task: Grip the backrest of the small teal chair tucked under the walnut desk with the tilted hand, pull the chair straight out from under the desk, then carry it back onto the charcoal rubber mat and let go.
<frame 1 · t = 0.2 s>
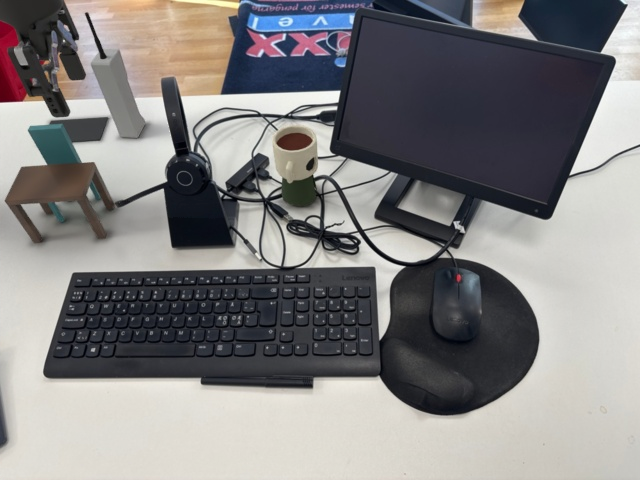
hand: (70, 96, 69), 26 cm above the table, tool pointing down, fingers open, 8 cm apart
desk: (75, 223, 90), on the table
chair: (80, 209, 92), on the table
character mug: (299, 197, 92), on the table
vintage mobile phone: (133, 131, 107), on the table
mat: (75, 130, 107), on the table
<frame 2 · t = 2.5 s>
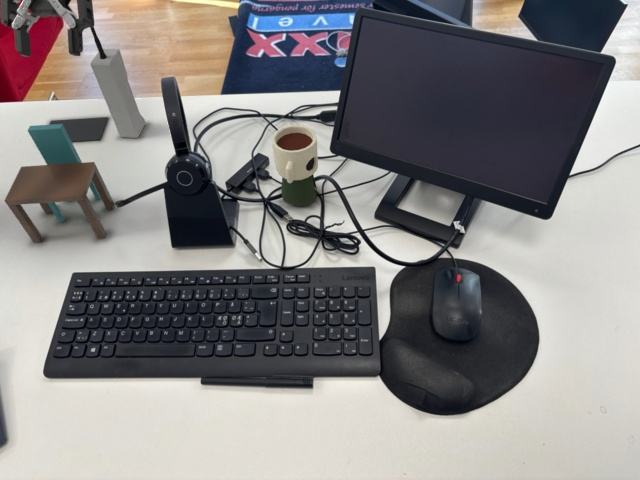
hand: (49, 55, 83), 23 cm above the table, tool tilted 40°, fingers open, 8 cm apart
nothing on the table moved.
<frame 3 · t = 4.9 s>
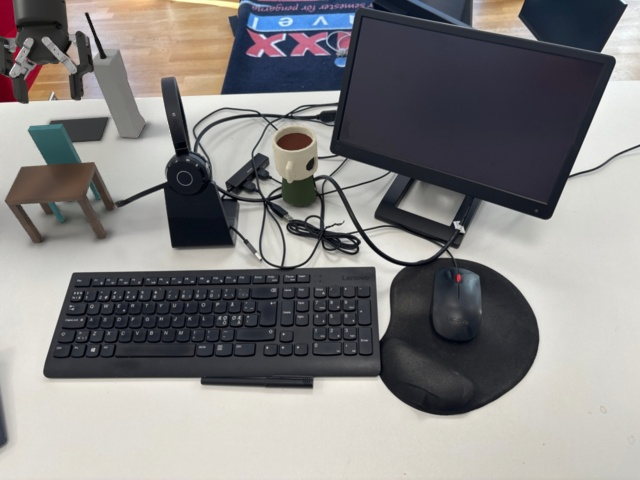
hand: (49, 101, 84), 17 cm above the table, tool tilted 45°, fingers open, 8 cm apart
nothing on the table moved.
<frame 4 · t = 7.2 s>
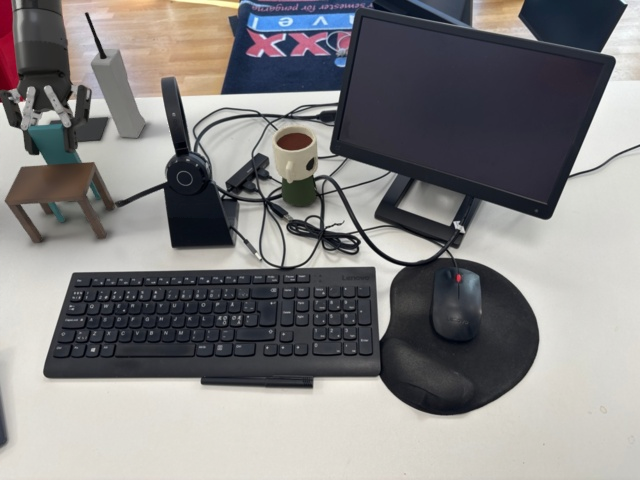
hand: (52, 153, 83), 12 cm above the table, tool tilted 45°, fingers closed on chair, 5 cm apart
chair: (80, 208, 92), on the table, touching gripper
everything else where it was.
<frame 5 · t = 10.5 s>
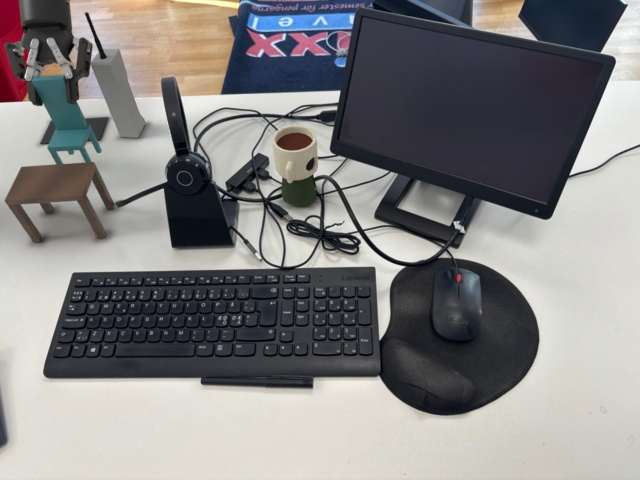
hand: (54, 103, 87), 15 cm above the table, tool tilted 45°, fingers closed on chair, 5 cm apart
chair: (82, 161, 96), point 3 cm above the table, touching gripper
everything else where it was.
when the fingers open (12 cm above the table, at t = 14.2 s): chair stays where it is, resting on mat.
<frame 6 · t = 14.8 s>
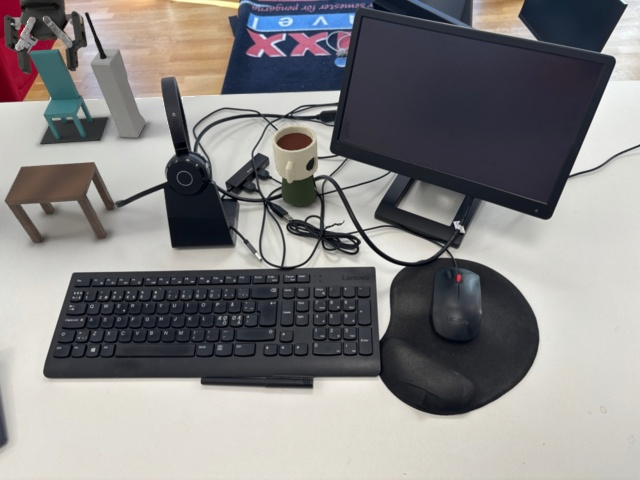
hand: (49, 71, 98), 13 cm above the table, tool tilted 45°, fingers open, 8 cm apart
chair: (74, 129, 107), resting on mat
everything else where it was.
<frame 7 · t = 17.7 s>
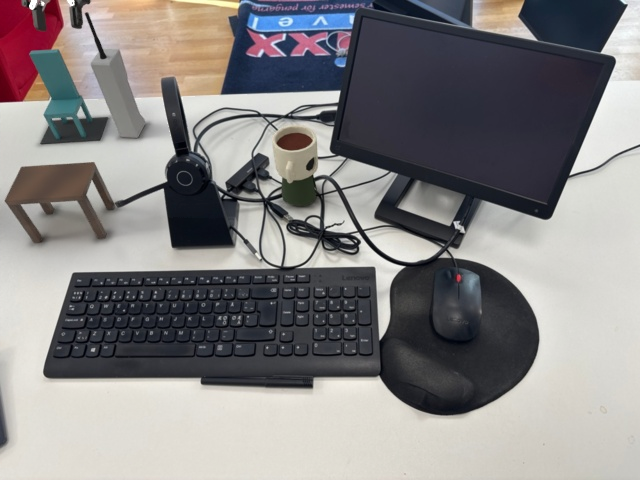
hand: (59, 29, 103), 16 cm above the table, tool tilted 35°, fingers open, 8 cm apart
nothing on the table moved.
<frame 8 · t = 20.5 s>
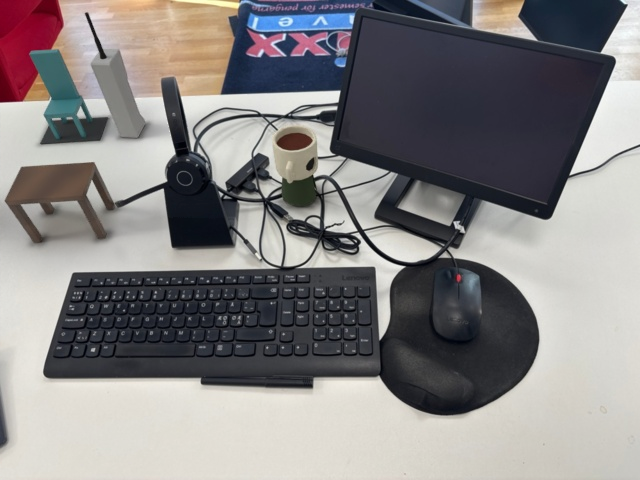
nothing on the table moved.
at the end: chair inside the target area on the mat (0.1 cm from its centre), point 0.3 cm above the mat's base; chair tilted 0°; the gripper is holding nothing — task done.
